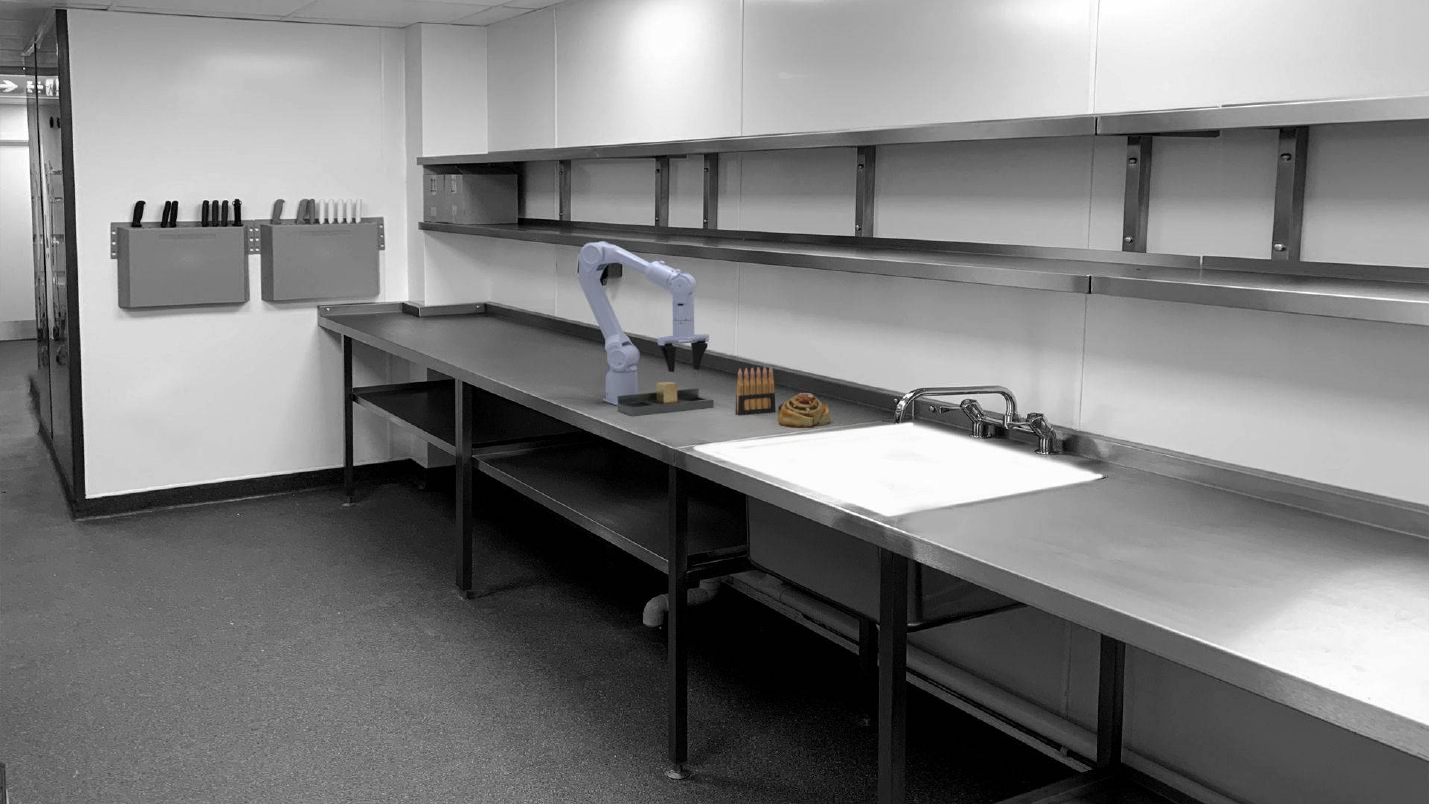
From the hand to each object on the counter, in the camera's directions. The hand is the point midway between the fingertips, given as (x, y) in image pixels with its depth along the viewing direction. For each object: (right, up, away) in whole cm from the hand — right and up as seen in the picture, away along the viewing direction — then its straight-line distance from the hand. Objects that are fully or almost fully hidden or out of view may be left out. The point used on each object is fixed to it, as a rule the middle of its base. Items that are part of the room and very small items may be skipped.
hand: (683, 370), depth 321 cm
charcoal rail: (-5, -10, -4) cm, 12 cm away
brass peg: (-4, -10, -5) cm, 12 cm away
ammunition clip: (+19, -12, -10) cm, 24 cm away
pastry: (+30, -14, -23) cm, 40 cm away
